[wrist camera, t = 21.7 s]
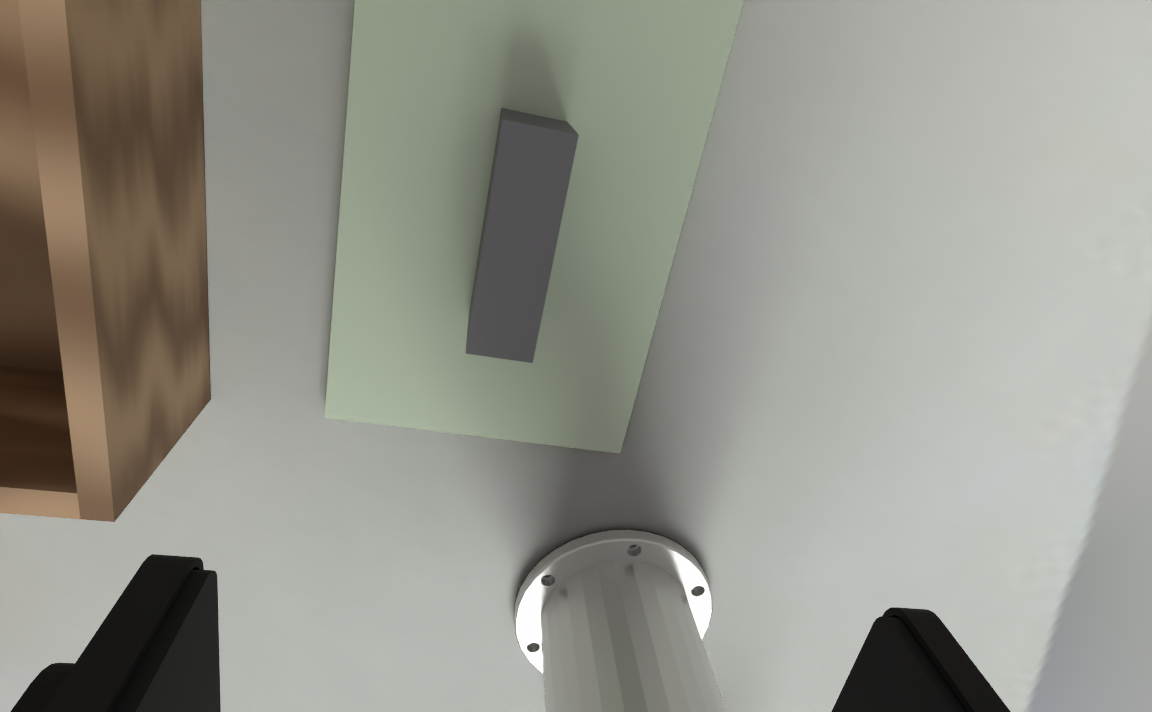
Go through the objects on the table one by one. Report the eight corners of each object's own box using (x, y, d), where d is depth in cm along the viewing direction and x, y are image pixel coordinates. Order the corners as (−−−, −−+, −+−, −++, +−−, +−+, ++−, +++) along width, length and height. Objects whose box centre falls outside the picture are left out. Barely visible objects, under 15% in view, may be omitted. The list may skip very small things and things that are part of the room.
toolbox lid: (615, 439, 40) (635, 502, 35) (330, 404, 37) (303, 467, 32) (736, -11, 31) (788, -20, 26) (369, -105, 28) (339, -138, 23)
